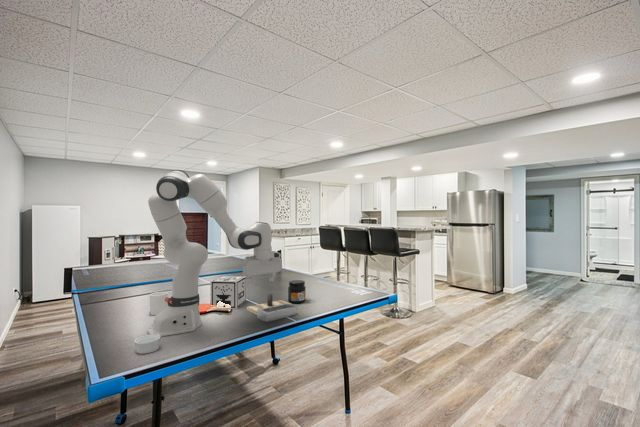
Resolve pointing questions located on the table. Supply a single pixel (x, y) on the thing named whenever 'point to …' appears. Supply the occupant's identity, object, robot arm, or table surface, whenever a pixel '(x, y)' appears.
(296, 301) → the supplement container
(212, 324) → the table surface
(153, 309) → the mug
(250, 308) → the plate
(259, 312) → the silver rectangular frame
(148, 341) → the ramekin
